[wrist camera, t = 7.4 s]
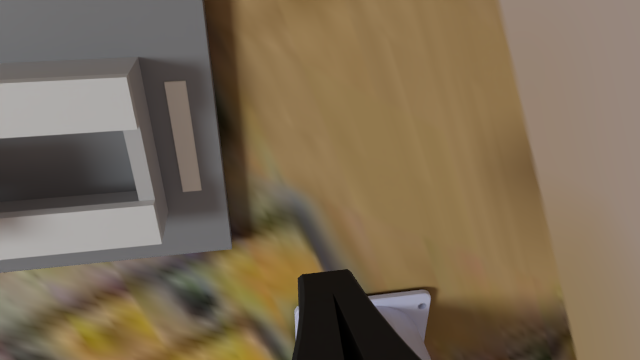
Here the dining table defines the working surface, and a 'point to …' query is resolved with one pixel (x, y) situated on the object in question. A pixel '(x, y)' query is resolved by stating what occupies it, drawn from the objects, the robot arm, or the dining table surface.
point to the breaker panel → (107, 133)
